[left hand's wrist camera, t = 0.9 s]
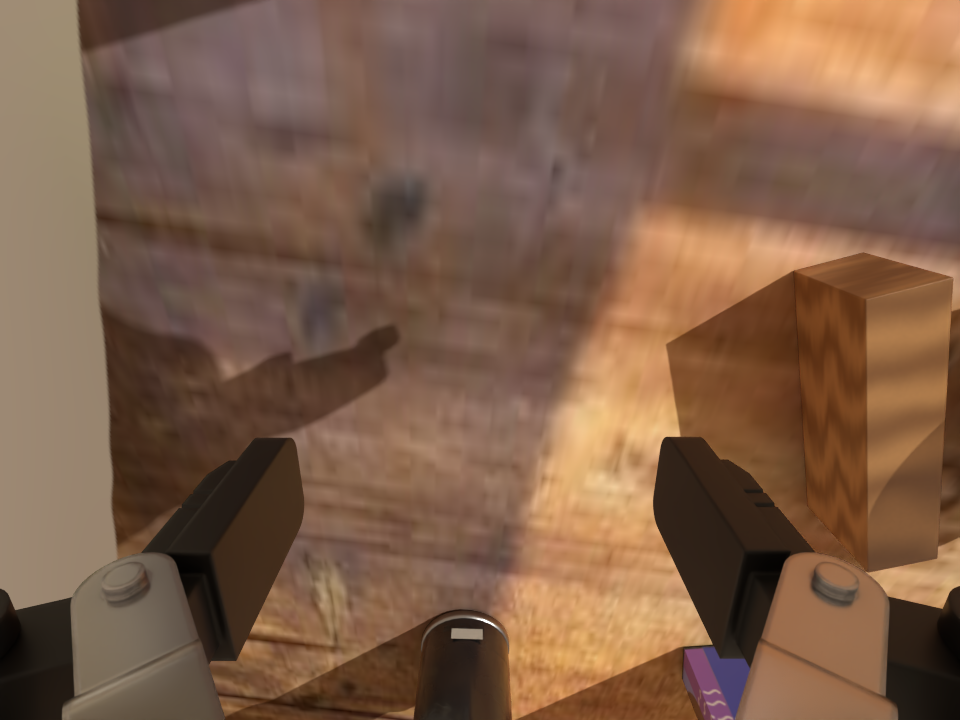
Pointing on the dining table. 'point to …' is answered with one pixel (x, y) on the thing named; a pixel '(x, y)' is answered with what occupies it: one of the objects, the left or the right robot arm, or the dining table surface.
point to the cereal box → (713, 682)
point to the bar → (874, 403)
